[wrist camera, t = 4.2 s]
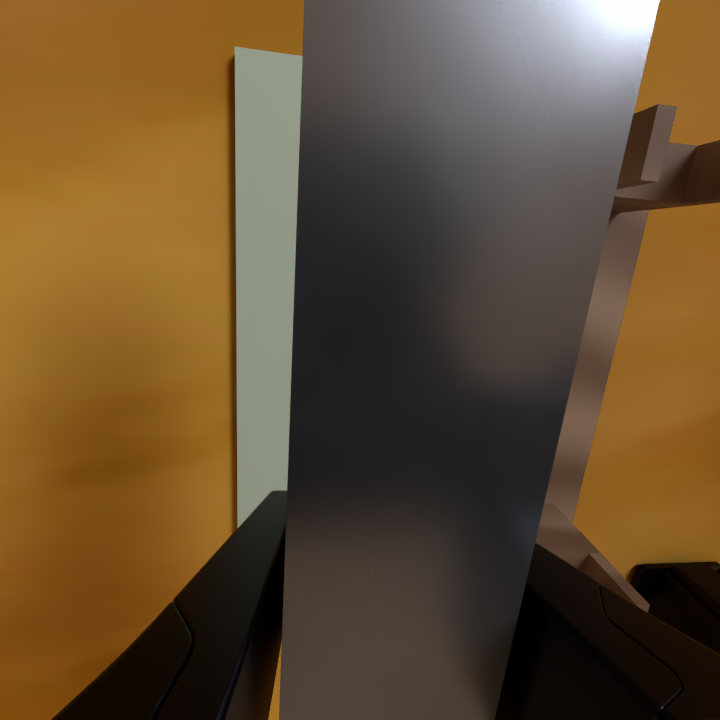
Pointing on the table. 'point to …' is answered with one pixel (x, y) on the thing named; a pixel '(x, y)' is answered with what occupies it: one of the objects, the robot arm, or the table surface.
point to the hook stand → (618, 319)
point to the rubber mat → (265, 265)
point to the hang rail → (438, 330)
